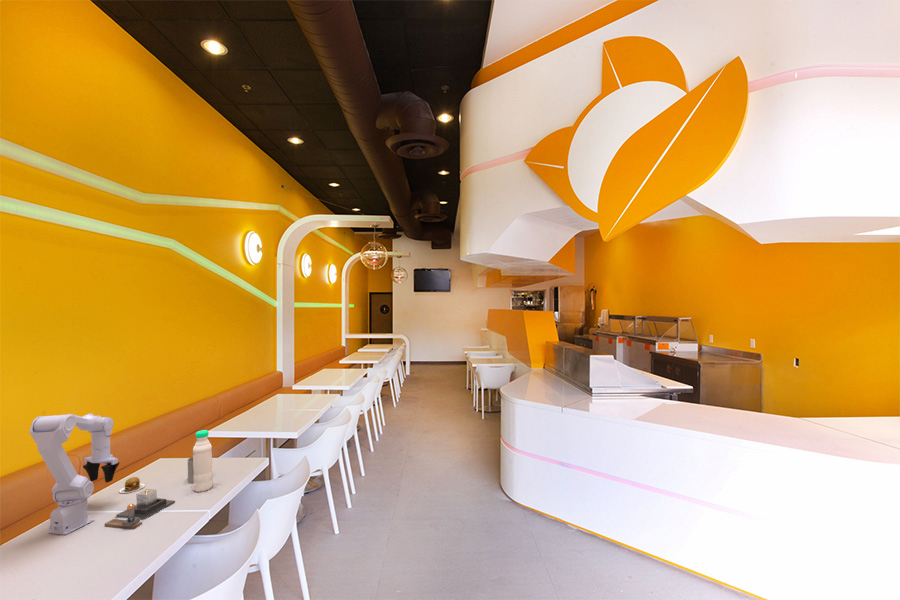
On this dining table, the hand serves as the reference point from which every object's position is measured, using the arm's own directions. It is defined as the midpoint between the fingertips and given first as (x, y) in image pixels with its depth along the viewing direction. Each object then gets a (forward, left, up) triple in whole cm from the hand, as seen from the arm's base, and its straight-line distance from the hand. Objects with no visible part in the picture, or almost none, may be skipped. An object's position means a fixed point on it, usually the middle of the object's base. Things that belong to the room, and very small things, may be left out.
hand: (101, 481), depth 160 cm
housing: (0, -22, -9) cm, 24 cm away
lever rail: (-11, -25, -10) cm, 29 cm away
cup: (+27, -20, -10) cm, 35 cm away
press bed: (0, -22, -10) cm, 24 cm away
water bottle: (+19, -30, -10) cm, 37 cm away
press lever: (-11, -28, -9) cm, 31 cm away
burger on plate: (+14, +2, -11) cm, 18 cm away
